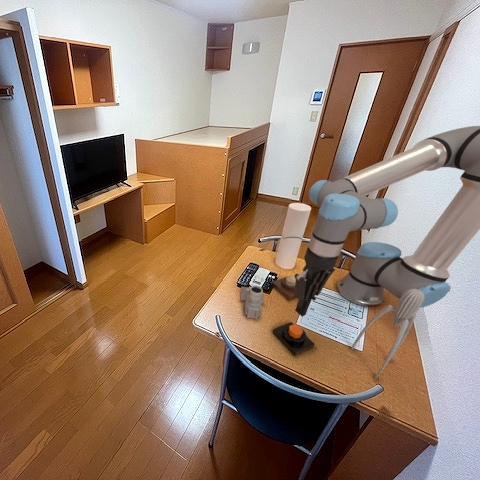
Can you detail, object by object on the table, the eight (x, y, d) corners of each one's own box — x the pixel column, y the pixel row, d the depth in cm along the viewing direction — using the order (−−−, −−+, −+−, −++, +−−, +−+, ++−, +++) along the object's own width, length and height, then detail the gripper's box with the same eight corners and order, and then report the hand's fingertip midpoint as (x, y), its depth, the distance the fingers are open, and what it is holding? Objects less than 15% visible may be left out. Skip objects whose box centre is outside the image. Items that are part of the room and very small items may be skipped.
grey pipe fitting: (243, 293, 92) (244, 268, 105) (239, 316, 98) (240, 291, 111) (269, 297, 90) (267, 271, 102) (264, 321, 96) (261, 294, 108)
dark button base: (290, 326, 94) (292, 318, 92) (313, 348, 86) (316, 340, 84) (272, 333, 91) (274, 325, 89) (294, 356, 83) (297, 348, 81)
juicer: (404, 376, 77) (462, 302, 61) (375, 379, 76) (426, 305, 61) (376, 345, 86) (421, 275, 70) (350, 348, 85) (389, 277, 70)
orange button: (294, 327, 89) (295, 323, 88) (303, 336, 86) (305, 332, 85) (285, 330, 88) (286, 326, 87) (294, 340, 85) (296, 336, 84)
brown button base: (289, 279, 115) (291, 272, 113) (307, 293, 107) (309, 286, 105) (271, 285, 113) (272, 278, 110) (288, 300, 104) (290, 293, 102)
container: (296, 269, 121) (313, 211, 106) (276, 268, 123) (291, 210, 107) (292, 259, 128) (308, 203, 113) (273, 257, 130) (287, 202, 114)
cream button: (290, 279, 110) (291, 275, 109) (298, 284, 107) (299, 281, 106) (283, 281, 109) (284, 277, 108) (290, 287, 106) (291, 283, 105)
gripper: (328, 239, 75) (306, 299, 87) (293, 248, 71) (275, 310, 83) (353, 252, 69) (325, 315, 81) (316, 263, 65) (293, 327, 77)
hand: (300, 312), depth 82 cm, fingers closed
